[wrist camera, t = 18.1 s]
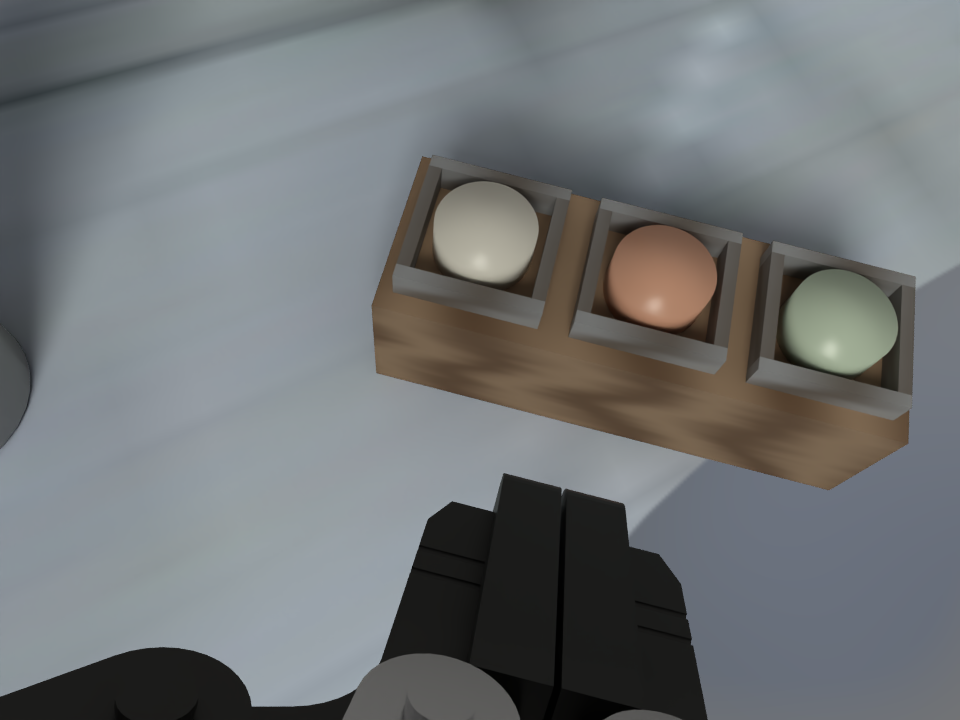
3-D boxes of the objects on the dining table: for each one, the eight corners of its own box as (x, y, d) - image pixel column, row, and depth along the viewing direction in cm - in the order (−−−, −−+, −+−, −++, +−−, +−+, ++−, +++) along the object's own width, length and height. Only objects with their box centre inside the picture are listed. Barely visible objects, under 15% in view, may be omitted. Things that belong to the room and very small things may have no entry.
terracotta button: (594, 322, 38) (604, 301, 36) (612, 238, 40) (622, 214, 38) (695, 348, 38) (710, 328, 36) (708, 262, 40) (722, 239, 38)
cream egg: (420, 278, 38) (421, 255, 36) (446, 196, 40) (448, 170, 38) (520, 304, 38) (526, 282, 36) (541, 220, 40) (548, 195, 38)
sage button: (770, 367, 38) (789, 348, 36) (779, 280, 39) (797, 258, 38) (872, 393, 37) (896, 376, 36) (876, 304, 39) (899, 283, 38)
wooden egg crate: (376, 372, 44) (370, 289, 36) (419, 240, 48) (423, 136, 39) (829, 490, 44) (927, 432, 35) (839, 347, 47) (931, 263, 39)
